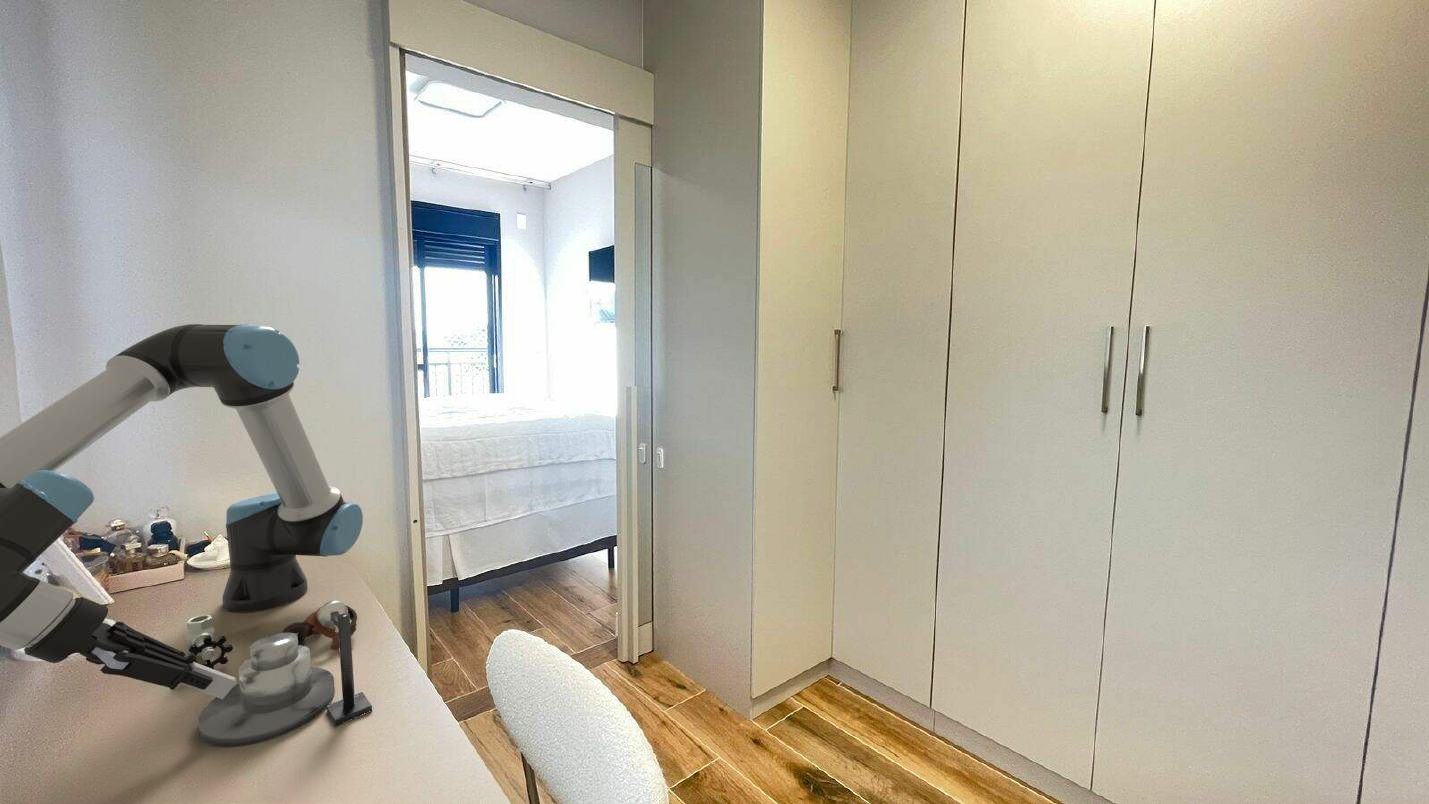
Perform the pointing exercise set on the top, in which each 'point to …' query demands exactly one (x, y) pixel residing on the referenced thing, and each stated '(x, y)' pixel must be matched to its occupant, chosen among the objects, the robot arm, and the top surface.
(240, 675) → the cover
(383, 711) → the top surface
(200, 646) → the valve
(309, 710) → the grey metal flat disc
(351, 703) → the dial stand
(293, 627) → the brown irregular ringed piece
